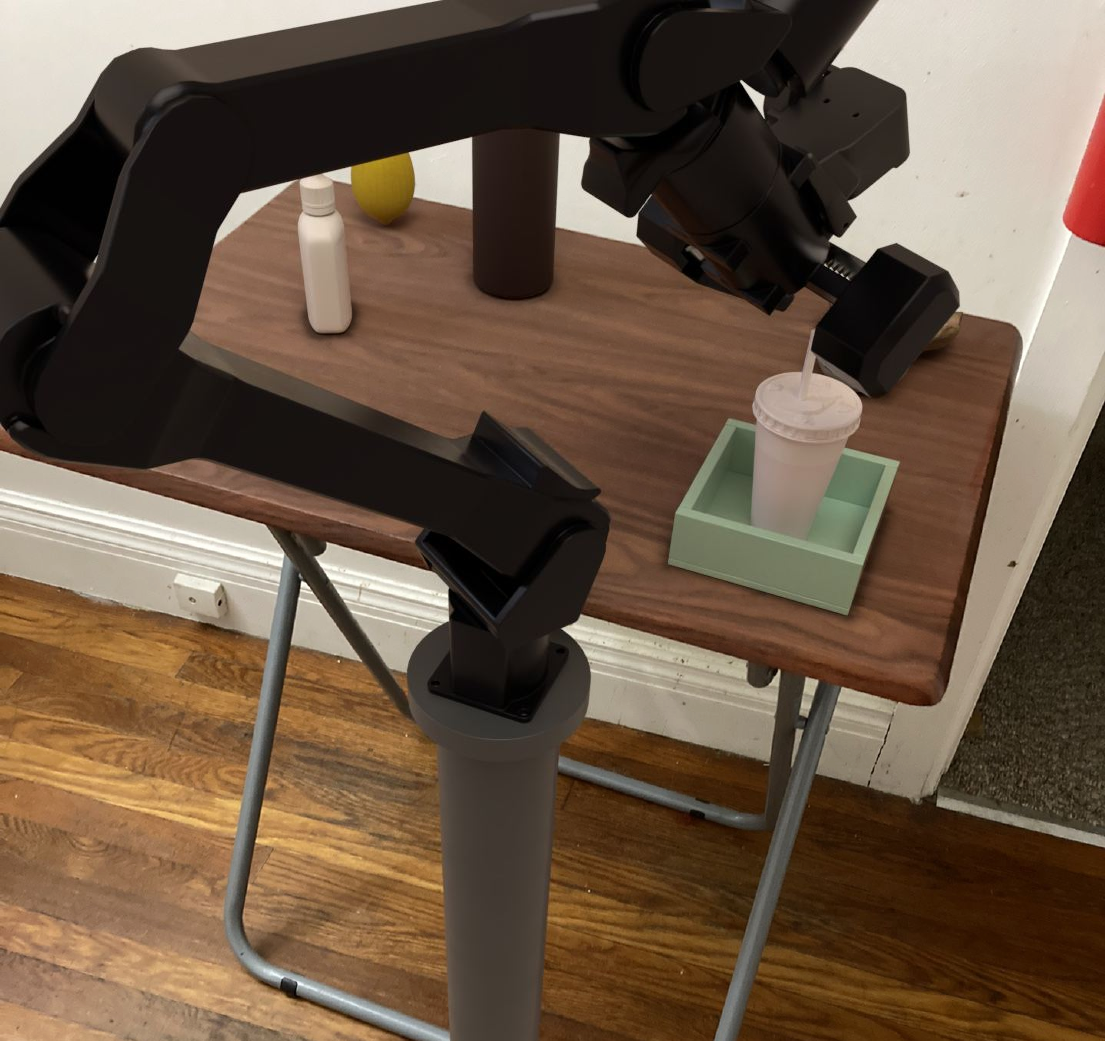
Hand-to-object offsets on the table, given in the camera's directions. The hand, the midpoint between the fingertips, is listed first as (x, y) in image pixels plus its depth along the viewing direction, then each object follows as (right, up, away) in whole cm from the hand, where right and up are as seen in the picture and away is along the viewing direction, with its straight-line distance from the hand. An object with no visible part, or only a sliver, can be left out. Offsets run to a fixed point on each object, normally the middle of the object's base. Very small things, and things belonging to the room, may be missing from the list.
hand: (841, 338), depth 67 cm
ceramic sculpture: (+9, +7, +25) cm, 27 cm away
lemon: (-32, +23, +38) cm, 54 cm away
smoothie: (-2, -10, +9) cm, 13 cm away
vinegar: (-19, +22, +24) cm, 38 cm away
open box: (-2, -10, +9) cm, 14 cm away
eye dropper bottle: (-34, +10, +26) cm, 44 cm away
